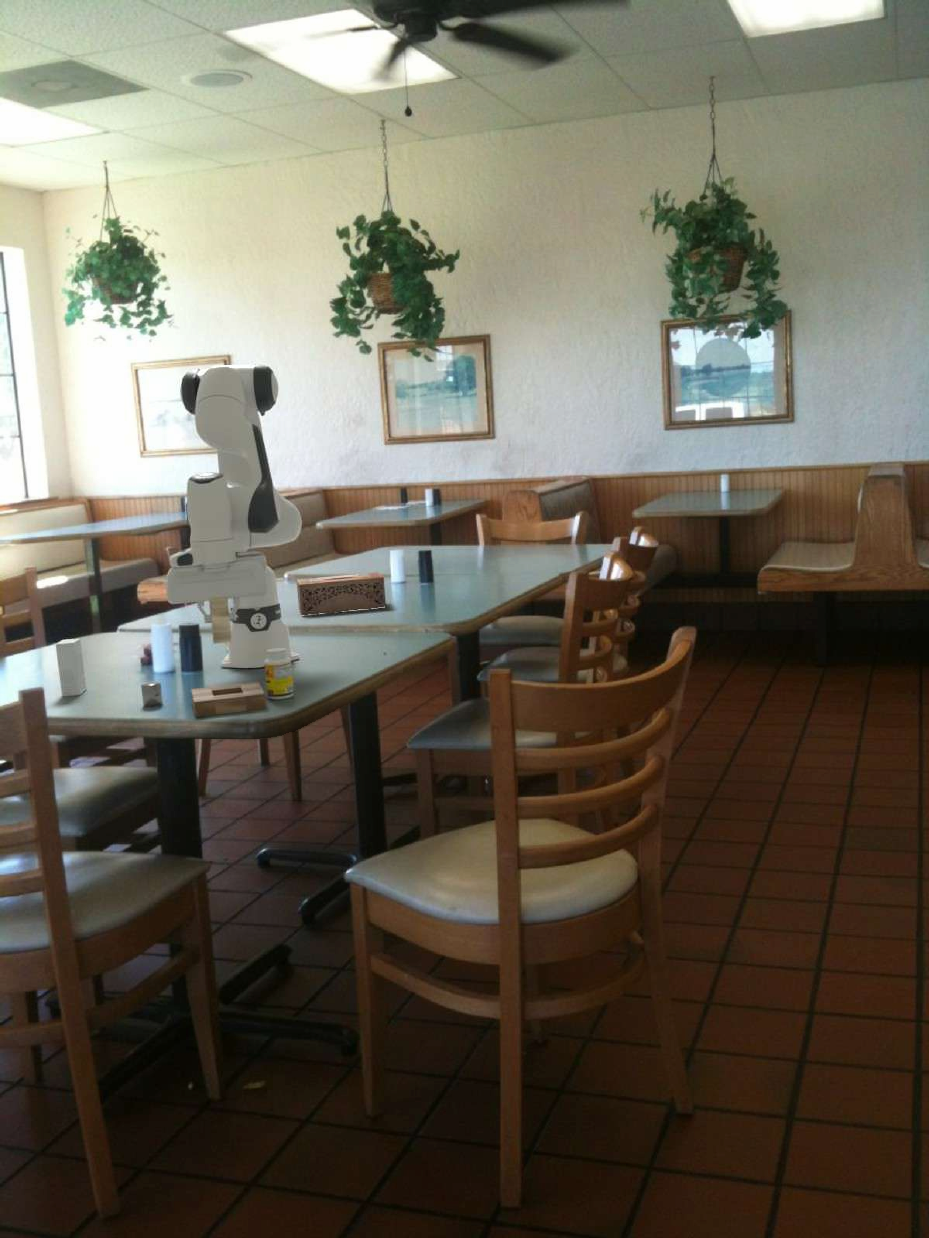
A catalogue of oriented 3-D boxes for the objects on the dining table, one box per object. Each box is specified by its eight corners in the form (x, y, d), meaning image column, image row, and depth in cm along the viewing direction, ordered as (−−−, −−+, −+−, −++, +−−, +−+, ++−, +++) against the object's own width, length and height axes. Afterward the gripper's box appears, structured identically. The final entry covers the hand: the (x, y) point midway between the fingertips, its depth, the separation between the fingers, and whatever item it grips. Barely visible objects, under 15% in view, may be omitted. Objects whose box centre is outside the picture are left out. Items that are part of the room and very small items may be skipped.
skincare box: (67, 691, 286) (61, 639, 284) (86, 689, 286) (80, 638, 285) (61, 696, 280) (54, 644, 278) (80, 695, 280) (74, 642, 279)
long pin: (213, 641, 257) (207, 587, 256) (230, 639, 258) (225, 586, 257) (214, 643, 254) (208, 589, 252) (231, 641, 255) (226, 588, 253)
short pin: (143, 704, 266) (141, 683, 265) (162, 702, 267) (160, 681, 266) (143, 708, 262) (141, 687, 261) (163, 705, 263) (160, 684, 262)
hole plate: (192, 703, 263) (191, 689, 263) (259, 695, 267) (258, 681, 266) (195, 716, 250) (194, 702, 249) (266, 708, 253) (265, 693, 253)
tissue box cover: (380, 603, 399) (378, 572, 397) (386, 609, 385) (383, 577, 383) (299, 611, 395) (296, 579, 393) (301, 617, 381) (298, 584, 379)
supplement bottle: (266, 696, 266) (262, 648, 264) (293, 693, 267) (289, 646, 265) (268, 701, 260) (263, 652, 259) (295, 698, 261) (290, 650, 260)
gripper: (263, 548, 259) (270, 614, 261) (162, 557, 254) (169, 624, 256) (267, 550, 253) (273, 618, 255) (163, 559, 248) (170, 628, 250)
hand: (220, 621), depth 256 cm, fingers closed on long pin, 3 cm apart
